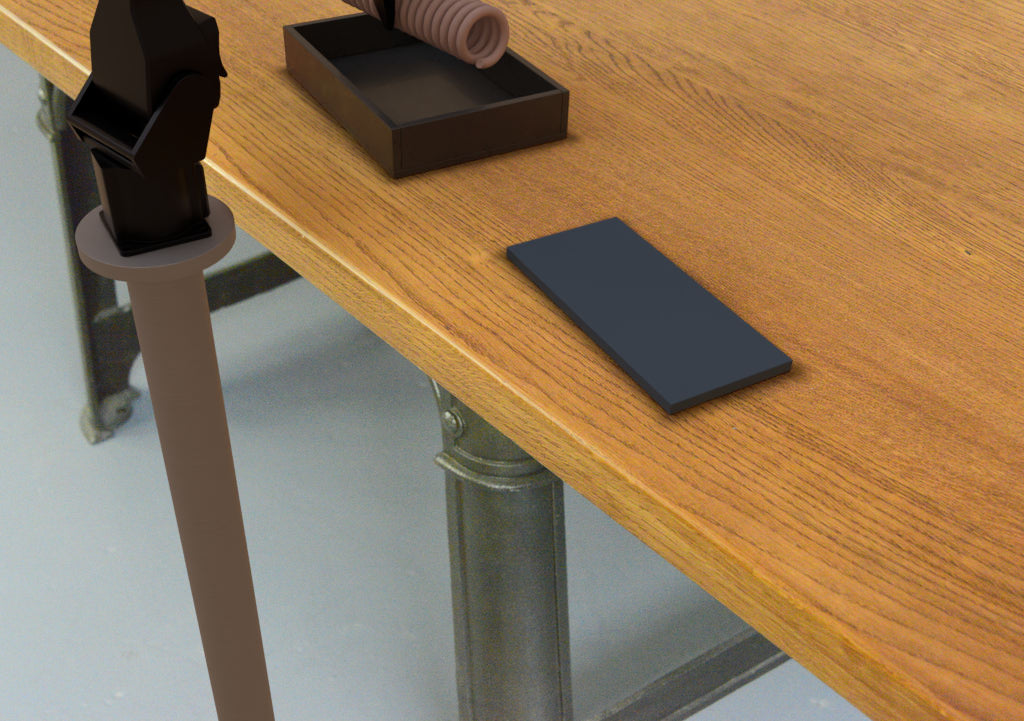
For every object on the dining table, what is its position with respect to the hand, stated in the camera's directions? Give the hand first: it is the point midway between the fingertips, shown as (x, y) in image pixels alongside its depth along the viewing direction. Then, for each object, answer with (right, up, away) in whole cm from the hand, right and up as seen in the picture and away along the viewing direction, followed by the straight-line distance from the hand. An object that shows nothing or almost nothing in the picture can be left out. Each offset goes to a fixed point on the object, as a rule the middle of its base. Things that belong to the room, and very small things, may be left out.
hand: (419, 24), depth 93 cm
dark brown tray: (0, -5, +4) cm, 7 cm away
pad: (+16, -24, -19) cm, 35 cm away
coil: (0, -1, +1) cm, 1 cm away
